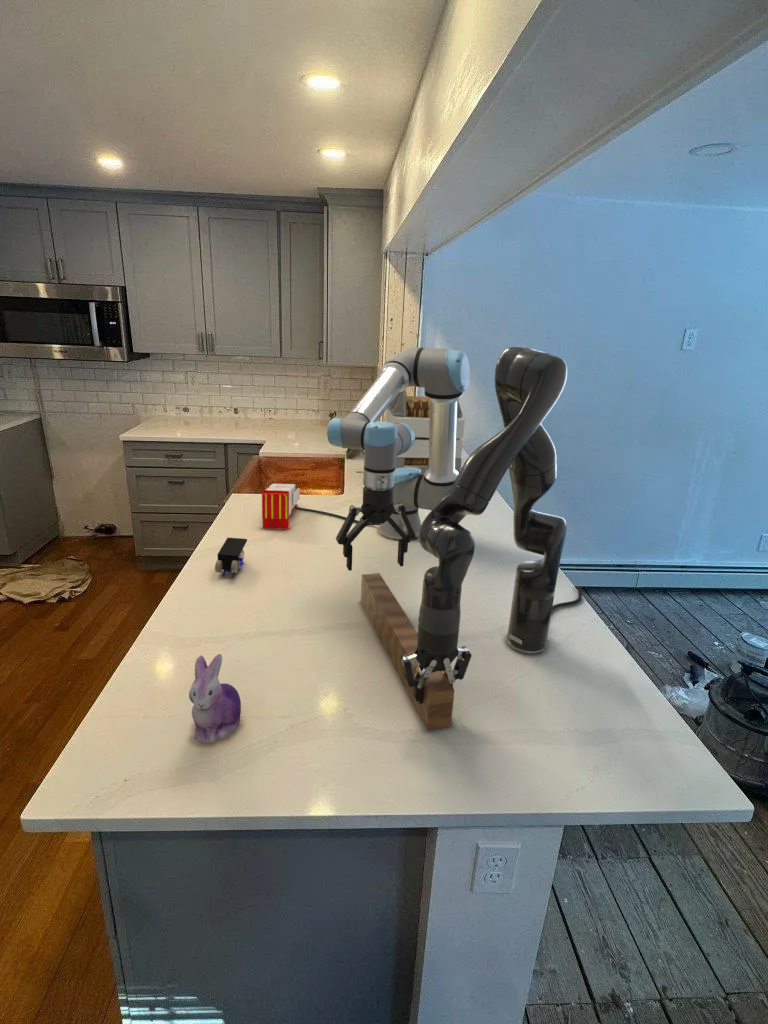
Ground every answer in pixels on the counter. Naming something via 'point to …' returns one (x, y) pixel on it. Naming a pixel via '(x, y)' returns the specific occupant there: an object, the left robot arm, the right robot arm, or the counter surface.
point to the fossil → (353, 453)
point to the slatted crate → (419, 429)
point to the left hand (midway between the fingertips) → (375, 566)
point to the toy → (279, 505)
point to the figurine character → (230, 556)
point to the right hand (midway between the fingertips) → (432, 698)
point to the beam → (405, 650)
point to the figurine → (213, 702)
